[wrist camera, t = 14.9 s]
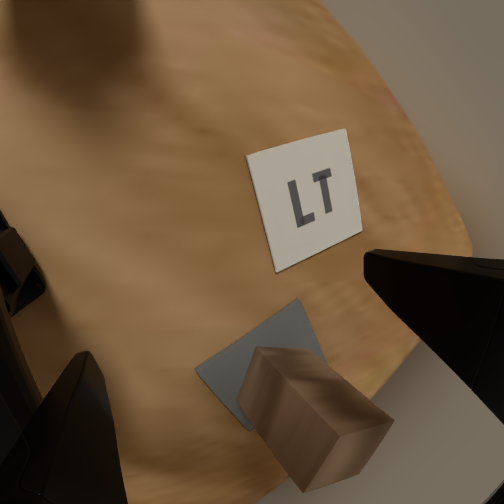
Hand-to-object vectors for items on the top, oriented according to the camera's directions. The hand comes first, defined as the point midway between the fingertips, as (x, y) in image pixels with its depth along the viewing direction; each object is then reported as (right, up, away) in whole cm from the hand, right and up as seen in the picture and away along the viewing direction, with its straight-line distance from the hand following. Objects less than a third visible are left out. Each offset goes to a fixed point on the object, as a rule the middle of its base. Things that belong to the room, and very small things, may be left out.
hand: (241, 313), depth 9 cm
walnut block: (+2, -9, +18) cm, 20 cm away
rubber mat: (+2, -9, +18) cm, 20 cm away
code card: (+5, +6, +15) cm, 17 cm away
